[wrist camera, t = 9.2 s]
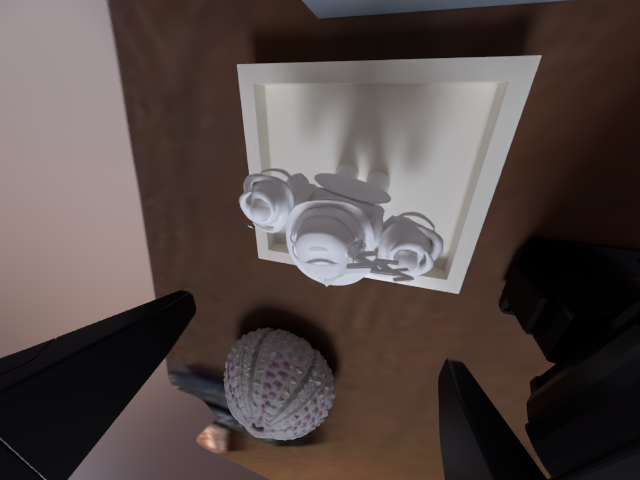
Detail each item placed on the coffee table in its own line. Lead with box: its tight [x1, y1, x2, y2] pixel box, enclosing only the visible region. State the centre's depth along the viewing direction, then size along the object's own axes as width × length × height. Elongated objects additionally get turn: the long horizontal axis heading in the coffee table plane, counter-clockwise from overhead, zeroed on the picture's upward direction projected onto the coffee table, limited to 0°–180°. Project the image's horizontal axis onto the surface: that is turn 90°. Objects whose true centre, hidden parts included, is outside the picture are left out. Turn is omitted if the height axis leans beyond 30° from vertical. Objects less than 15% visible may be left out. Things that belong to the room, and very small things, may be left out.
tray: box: [237, 55, 542, 294], centre depth 18 cm, size 16×14×2 cm
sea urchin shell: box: [224, 327, 336, 441], centre depth 28 cm, size 13×14×8 cm
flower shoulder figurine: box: [239, 164, 443, 287], centre depth 13 cm, size 9×4×12 cm, turn 77°
